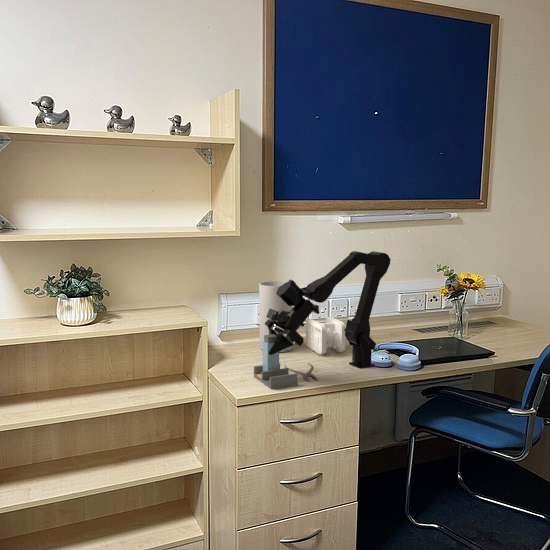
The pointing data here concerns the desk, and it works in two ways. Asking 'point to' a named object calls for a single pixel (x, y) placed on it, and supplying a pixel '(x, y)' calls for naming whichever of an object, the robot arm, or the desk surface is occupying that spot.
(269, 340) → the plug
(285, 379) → the grey slotted holder
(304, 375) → the pliers
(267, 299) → the cylinder vase
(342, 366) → the desk surface
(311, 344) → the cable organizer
